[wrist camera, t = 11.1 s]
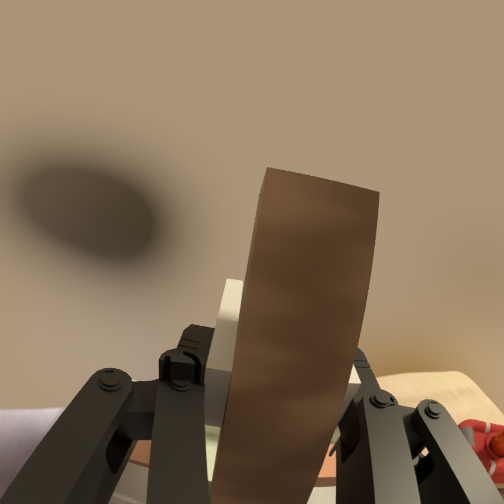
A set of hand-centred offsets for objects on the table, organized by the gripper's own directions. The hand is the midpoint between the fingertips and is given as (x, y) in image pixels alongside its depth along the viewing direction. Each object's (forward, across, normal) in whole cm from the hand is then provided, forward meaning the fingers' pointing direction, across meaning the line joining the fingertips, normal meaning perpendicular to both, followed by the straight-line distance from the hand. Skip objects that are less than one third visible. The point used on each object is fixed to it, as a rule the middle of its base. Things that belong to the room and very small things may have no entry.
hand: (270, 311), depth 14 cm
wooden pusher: (-9, 0, -9) cm, 13 cm away
